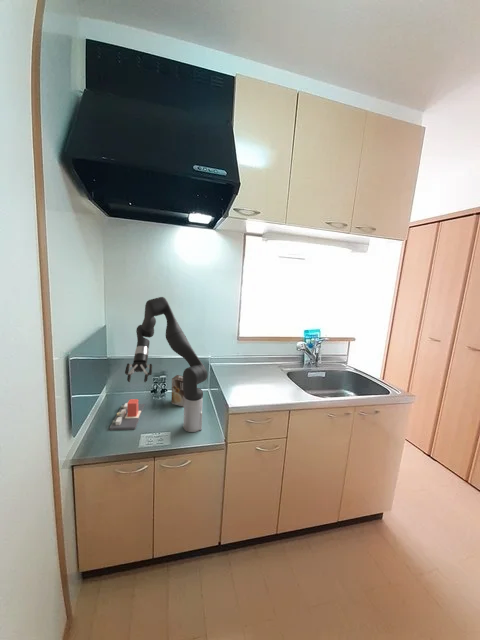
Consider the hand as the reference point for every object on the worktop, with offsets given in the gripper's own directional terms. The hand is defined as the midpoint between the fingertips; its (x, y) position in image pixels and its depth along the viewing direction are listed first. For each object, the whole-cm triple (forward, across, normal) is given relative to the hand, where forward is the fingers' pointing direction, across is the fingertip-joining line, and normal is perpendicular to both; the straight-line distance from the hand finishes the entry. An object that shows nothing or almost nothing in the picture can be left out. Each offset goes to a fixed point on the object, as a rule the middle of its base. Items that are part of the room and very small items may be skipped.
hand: (137, 381), depth 147 cm
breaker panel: (+18, -2, +4) cm, 18 cm away
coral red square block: (+17, 0, +3) cm, 17 cm away
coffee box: (+8, +24, +14) cm, 29 cm away
